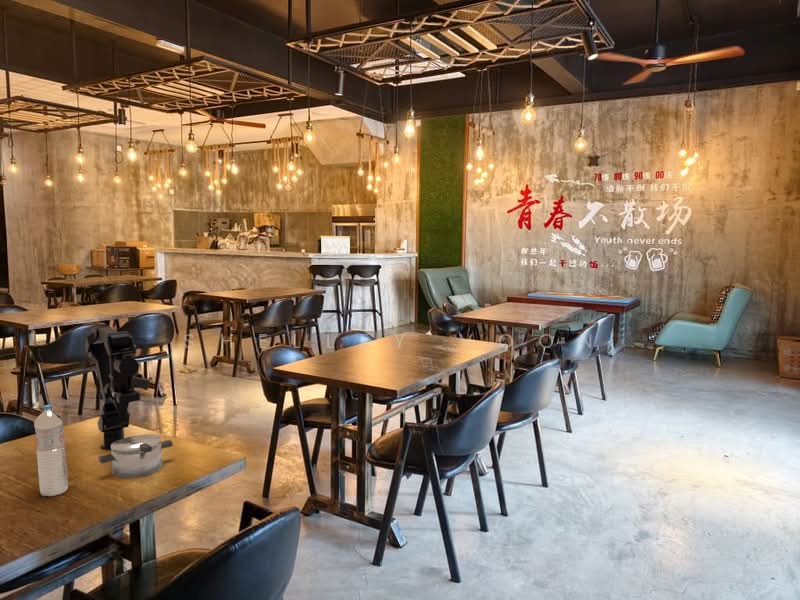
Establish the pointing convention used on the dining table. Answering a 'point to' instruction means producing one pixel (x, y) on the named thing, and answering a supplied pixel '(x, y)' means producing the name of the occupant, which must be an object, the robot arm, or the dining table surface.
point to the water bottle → (51, 453)
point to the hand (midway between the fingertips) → (123, 418)
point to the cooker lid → (136, 443)
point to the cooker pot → (136, 461)
